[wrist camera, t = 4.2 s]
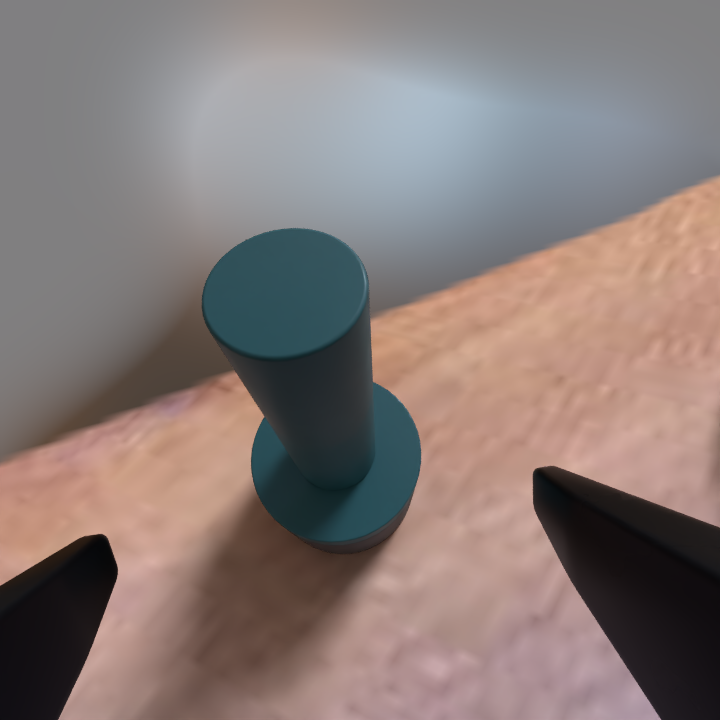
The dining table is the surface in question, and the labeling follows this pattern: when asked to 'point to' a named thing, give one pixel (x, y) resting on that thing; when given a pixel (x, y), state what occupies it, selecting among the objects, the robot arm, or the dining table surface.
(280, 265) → the teal peg stand
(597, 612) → the robot arm
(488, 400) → the dining table surface
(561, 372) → the dining table surface
